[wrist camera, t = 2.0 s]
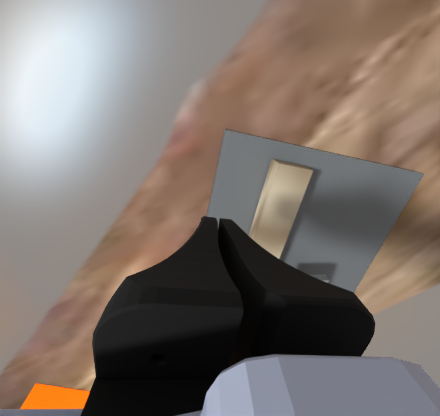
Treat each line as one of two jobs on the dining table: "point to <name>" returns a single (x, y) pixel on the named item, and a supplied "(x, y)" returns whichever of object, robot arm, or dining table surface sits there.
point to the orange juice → (55, 398)
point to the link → (279, 204)
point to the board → (316, 203)
